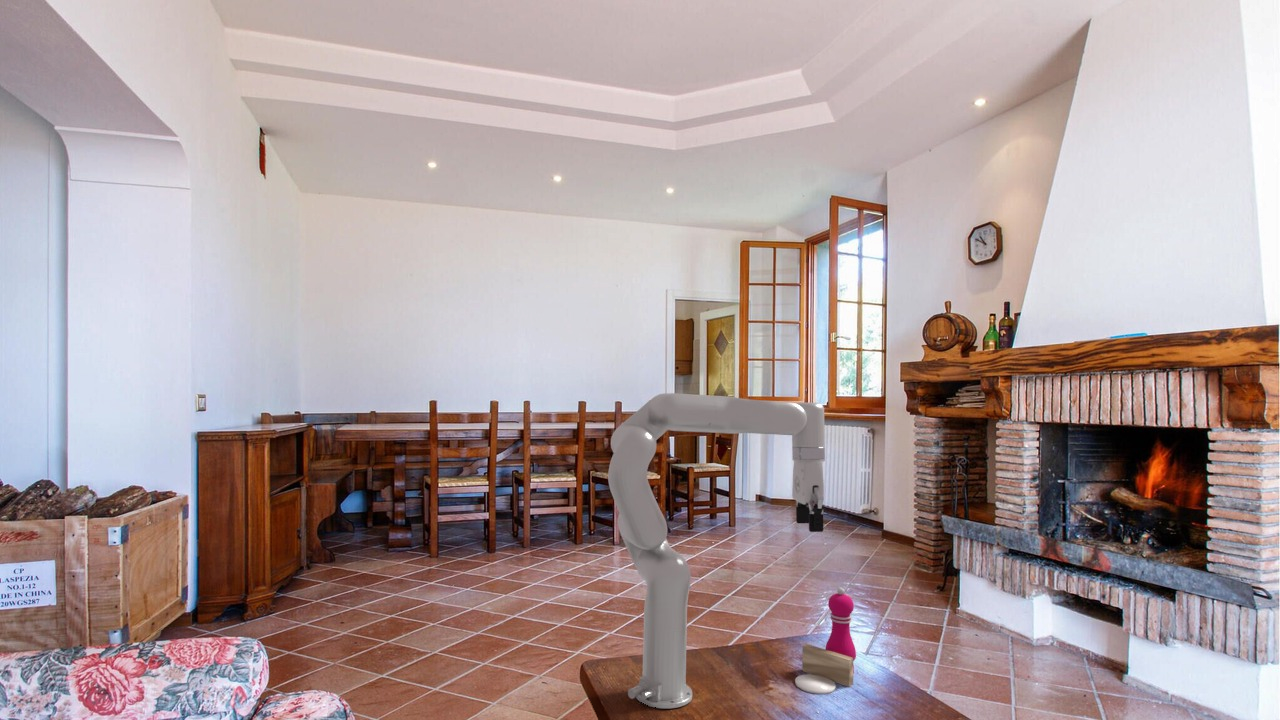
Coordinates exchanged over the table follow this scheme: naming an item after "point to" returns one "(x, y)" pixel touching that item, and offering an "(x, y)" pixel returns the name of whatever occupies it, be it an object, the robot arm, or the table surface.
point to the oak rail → (827, 664)
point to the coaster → (815, 684)
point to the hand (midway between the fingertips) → (809, 527)
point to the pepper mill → (841, 625)
